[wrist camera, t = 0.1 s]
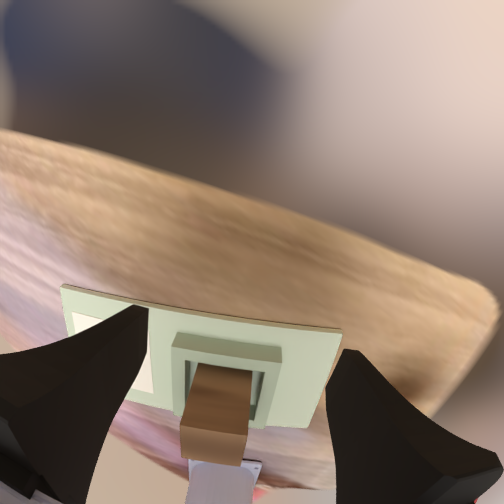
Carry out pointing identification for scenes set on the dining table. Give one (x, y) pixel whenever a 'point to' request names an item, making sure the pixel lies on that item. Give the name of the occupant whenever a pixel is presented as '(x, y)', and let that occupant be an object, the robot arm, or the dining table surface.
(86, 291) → the pocket board
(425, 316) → the dining table surface
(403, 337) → the dining table surface
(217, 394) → the walnut post
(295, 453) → the dining table surface
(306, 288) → the dining table surface
